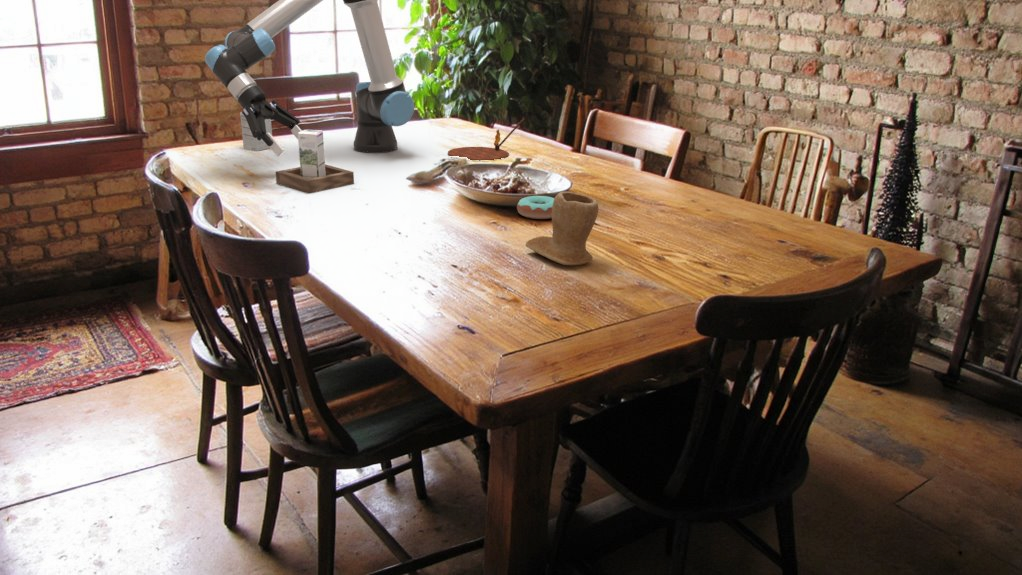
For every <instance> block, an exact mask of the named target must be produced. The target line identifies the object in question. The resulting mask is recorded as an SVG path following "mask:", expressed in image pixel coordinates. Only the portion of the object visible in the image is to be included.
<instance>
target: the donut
mask: <svg viewBox="0 0 1022 575" xmlns="http://www.w3.org/2000/svg"><path fill="white" fill-rule="evenodd" d="M554 198H555V197H551V196H548V195H547V196H546V195H532V196H526V197H523V198H521V199H519V201H518V202H517V205H516V210H517V213H519V215H521V216H523V217H525V218H527V219H532V220H549V219H552V206H553V201H554Z"/></svg>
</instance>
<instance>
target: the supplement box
mask: <svg viewBox="0 0 1022 575" xmlns="http://www.w3.org/2000/svg"><path fill="white" fill-rule="evenodd" d="M239 115H240V124H241V126H240V127H241V136H242V144H243V149H244V150H245V149H246V150H249V151H254V152H260V151H265V150H269V149H271V148H270V147H269V146H268V145H267V144H266V143H265V142H264V141H263V140H262V139H261V140H258V139H257V138H254V137H253V135H252V133H251V130H250V127H249V125H248V122H247V120H246V117H245V116H244V115H243V113H242V111H241V112H239ZM265 126H266V134H267V133H270V134H271V135H272V136H273V129H272V128H273V127H272V120H271V119H265Z"/></svg>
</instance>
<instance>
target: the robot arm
mask: <svg viewBox="0 0 1022 575" xmlns="http://www.w3.org/2000/svg"><path fill="white" fill-rule="evenodd" d="M323 1H324V0H277V1H276V2H275V3H273V4H271V6H269V7H268V8H266V9H265V10H264V11H263V12H261V13H260V14H258V15H257V16H256V17H254V18H253V19H252V20H250V21H249V22H247V23H246V24H245V25H243V26H242V27H241V28H239V29H238V30H233V31H230V32H229V33H227V35H226V36H225V39H224V44H218V45H216V46H213V47H212V48H210V49H209V50H208V51H207V53H206V54H205V56H204V63H205V64H206V65H207V66H208V68H209V69H210V71H212V74H214V76H216V78H217V79H218V80H219V81H220V83H222V84H223V86H224V87H225V89H227V90H228V91H229V93H230V94H231V95H232V96H233V97H234V99H235V100H237V102H238V104H239V105H240V106H241V107H242V109H243V110H242V111H241V112H242V113H243V115H244V116H245V117H246V120H247V122H248V125H249V127H250V130H251V133H252V135H253V137H254V138H257V139H258V140H261V139H262V140H263V141H264V142H265V143H266V144H267V145H268V146H269V147H270V148H269V149H270V150H272V152H273V153H274V154H275V156H276V157H279V156H280V155H281V154H282V153H283V152H284V151H285V150H284V148H283V147H282V146H281V144H279V142H278V141H277V140H276V139H275V138H274V136H273V134H272V135H271V134H270V133H267V134H266V126H265V119H271V121H276V122H278V123H280V124H281V125H283V126H285V127H287V128H288V129H290V132H291V134H292V135H293V136H294V137H295V138H296V139H297V140H298V133H299V132H300V131H302V130H303V129H302V128H301V127H300V125H299V124H300V123H301V120H300V119H299V118H297V117H296V116H295V115H293V114H292V113H291V112H290V111H288V110H287V109H285V108H284V107H282V106H281V105H280V104H279V103H278V102H277V101H276V100H274V99H272V101H271V102H268V101H267V99H266V93H265V92H264V91H263V90H262V88H261V87H260V86H259V85H257V82H256V80H254V79H253V77H251V74H249V73H248V71H247V70H248V69H249V68H251V67H253V66H254V65H256V64H257V63H259V62H261V61H262V60H264V59H265V58H267V57H268V56H269V55H271V54H272V53H273V52H274V51H275V50H276V44H275V43H274V40H273V38H274V37H276V35H278V34H280V33H281V32H282V31H283V30H285V29H287V27H289V26H290V25H291V24H294V22H296V21H297V20H298V19H299V18H301V17H302V16H304V15H305V14H306V13H308V12H309V11H311V9H313V8H315V7H316V6H317V5H318V4H320V3H321V2H323ZM342 1H343V4H344V5H345V6H347V7H349V9H350V11H351V15H352V18H353V22H354V25H355V30H356V32H357V37H358V40H359V43H360V46H361V52H362V54H363V58H364V61H365V66H366V69H367V72H368V76H369V80H370V81H364V82H358V83H357V84H356V86H355V96H356V115H357V116H356V118H357V128H356V129H357V130H356V133H355V137H354V140H353V150H355V151H357V152H360V153H375V154H377V153H388V152H393V151H396V150H397V149H398V140H397V138H396V135H395V134H396V133H395V131H394V129H393V127H401V126H403V125H406V124H407V123H408V122H409V121H410V120H411V118H412V117H413V115H414V111H415V102H414V99H413V97H412V96H411V95H410V93H408V92H407V91H406V89H405V88H406V87H405V84H404V80H403V79H402V78H400V77H399V76H398V75H397V73H396V69H395V65H394V60H393V57H392V53H391V50H390V44H389V42H388V38H387V33H386V30H385V27H384V22H383V19H382V15H381V12H380V7H379V3H378V1H379V0H342Z"/></svg>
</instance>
